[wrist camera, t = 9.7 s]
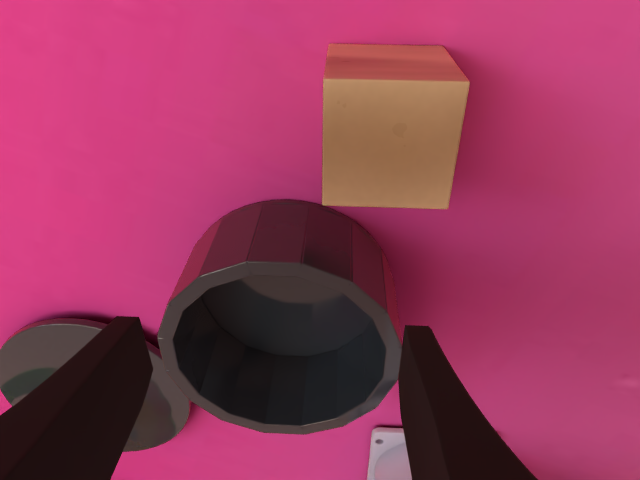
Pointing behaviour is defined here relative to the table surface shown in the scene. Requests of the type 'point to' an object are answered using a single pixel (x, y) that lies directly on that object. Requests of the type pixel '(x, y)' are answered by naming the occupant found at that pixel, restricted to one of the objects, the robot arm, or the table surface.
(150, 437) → the lid
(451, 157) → the block
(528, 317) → the table surface
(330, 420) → the dark grey hollow cylinder
